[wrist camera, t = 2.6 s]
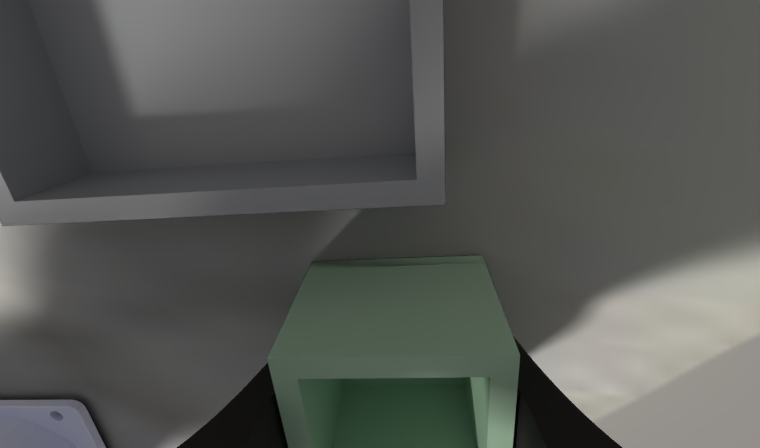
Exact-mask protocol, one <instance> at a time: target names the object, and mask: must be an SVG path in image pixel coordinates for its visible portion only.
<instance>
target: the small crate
mask: <svg viewBox="0 0 760 448" xmlns="http://www.w3.org/2000/svg"><path fill="white" fill-rule="evenodd" d="M267 361H268V365H269V369H270V374H271V378H272V382H273V386H274V390H275V394H276V399H277V403H278V407H279V411H280V415H281V419H282V424H283V428H284V432H285V436H286V440H287V444H288V448H513V437H514V425H515V413H516V401H517V388H518V376H519V364H520V353H519V351H518V348H517V345H516V343H515V340H514V337H513V335H512V332H511V329H510V327H509V324H508V321H507V319H506V316H505V314H504V311H503V308H502V306H501V303H500V300H499V298H498V295H497V292H496V290H495V287H494V285H493V282H492V279H491V277H490V274H489V271H488V269H487V266H486V263H485V261H484V258H483V256H482V255H475V256H448V257H421V258H394V259H367V260H340V261H313V262H311V265H310V267H309V269H308V271H307V273H306V275H305V278H304V280H303V282H302V284H301V286H300V288H299V291H298V293H297V295H296V297H295V299H294V301H293V304H292V306H291V308H290V310H289V312H288V314H287V317H286V319H285V321H284V323H283V325H282V327H281V330H280V332H279V334H278V336H277V338H276V340H275V342H274V345H273V347H272V349H271V351H270V353H269V355H268V358H267Z"/></svg>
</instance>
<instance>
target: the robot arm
mask: <svg viewBox="0 0 760 448" xmlns="http://www.w3.org/2000/svg"><path fill="white" fill-rule="evenodd" d="M513 337H514V336H513ZM514 340H515V343H516V345H517V348H518V351H519V353H520V364H519V376H518V388H517V401H516V413H515V425H514V437H513V448H622V447H621V446H620V445H618V444H617V443H616V442H615V441H614V440H612V439H611V438H610V437H609V436H608V435H606V434H605V433H604V432H603V431H602V430H601V429H600V428H598V427H597V426H596V425H595V424H594V423H593V422H592V421H591V420H590V419H589V418H587V417H586V416H585V415H584V414H583V413H582V412H581V411H580V410H579V409H578V408H577V407H576V406H575V405H574V404H573V403H572V402H571V401H570V400H569V399H568V398H567V397H566V396H565V395H564V394H563V393H562V392H561V391H560V390H559V389H558V388H557V387H556V386H555V384H554V383H553V382H552V381H551V380H550V379H549V378H548V377H547V376H546V375H545V374H544V372H543V371H542V370H541V369H540V368H539V367H538V366H537V364H536V363H535V362H534V361H533V360H532V358H531V357H530V356H529V355H528V354H527V352H526V351H525V350H524V349H523V348H522V346H521V345H520V344H519V342H518V341H517V340H516V339H515V337H514ZM0 448H106V447H105V445H104V443H103V441H102V439H101V437H100V435H99V433H98V431H97V429H96V427H95V425H94V423H93V421H92V419H91V417H90V415H89V413H88V411H87V409H86V407H85V406H84V404H82V403H81V402H79V401H77V400H0ZM177 448H288V444H287V440H286V436H285V432H284V428H283V424H282V419H281V415H280V411H279V407H278V403H277V399H276V394H275V390H274V386H273V382H272V378H271V374H270V369H269V365H268V363H267V364H266V365H265V366H264V367H263V368H262V370H261V371H260V372H259V373H258V374H257V375H256V376H255V377H254V378H253V379H252V380H251V381H250V382H249V383H248V385H247V386H246V387H245V388H244V389H243V390H242V391H241V392H240V393H239V394H238V395H237V396H236V397H235V398H234V399H233V400H232V401H231V402H230V403H229V404H228V405H227V406H226V407H224V408H223V409H222V410H221V411H220V412H219V413H218V414H217V415H216V416H215V417H214V418H213V419H211V420H210V421H209V422H208V423H207V424H206V425H205V426H203V427H202V428H201V429H200V430H199V431H197V432H196V433H195V434H194V435H193V436H191V437H190V438H189V439H188V440H186V441H185V442H184V443H182V444H181V445H180V446H178V447H177Z"/></svg>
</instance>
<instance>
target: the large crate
mask: <svg viewBox="0 0 760 448" xmlns="http://www.w3.org/2000/svg"><path fill="white" fill-rule="evenodd" d="M424 205H445V134H444V44H443V0H0V222H1V224H2V226H13V225H33V224H54V223H75V222H95V221H116V220H136V219H157V218H177V217H198V216H219V215H239V214H260V213H280V212H301V211H321V210H342V209H363V208H383V207H404V206H424Z"/></svg>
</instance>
